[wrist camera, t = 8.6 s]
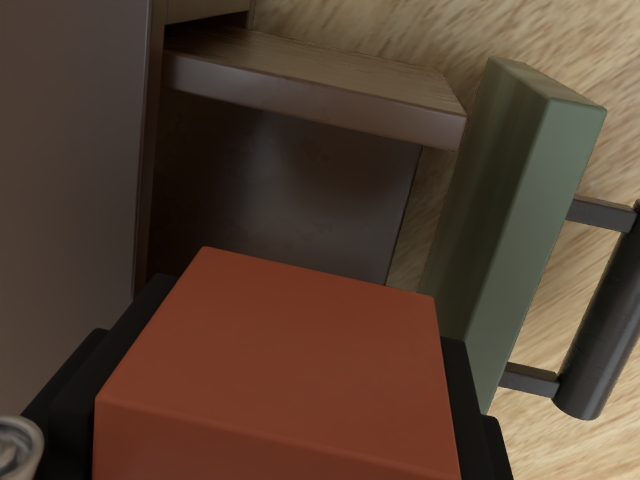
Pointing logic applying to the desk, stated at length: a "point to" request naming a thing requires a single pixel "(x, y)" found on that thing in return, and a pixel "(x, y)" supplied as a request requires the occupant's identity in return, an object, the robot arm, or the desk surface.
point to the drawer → (392, 189)
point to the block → (278, 381)
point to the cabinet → (77, 170)
